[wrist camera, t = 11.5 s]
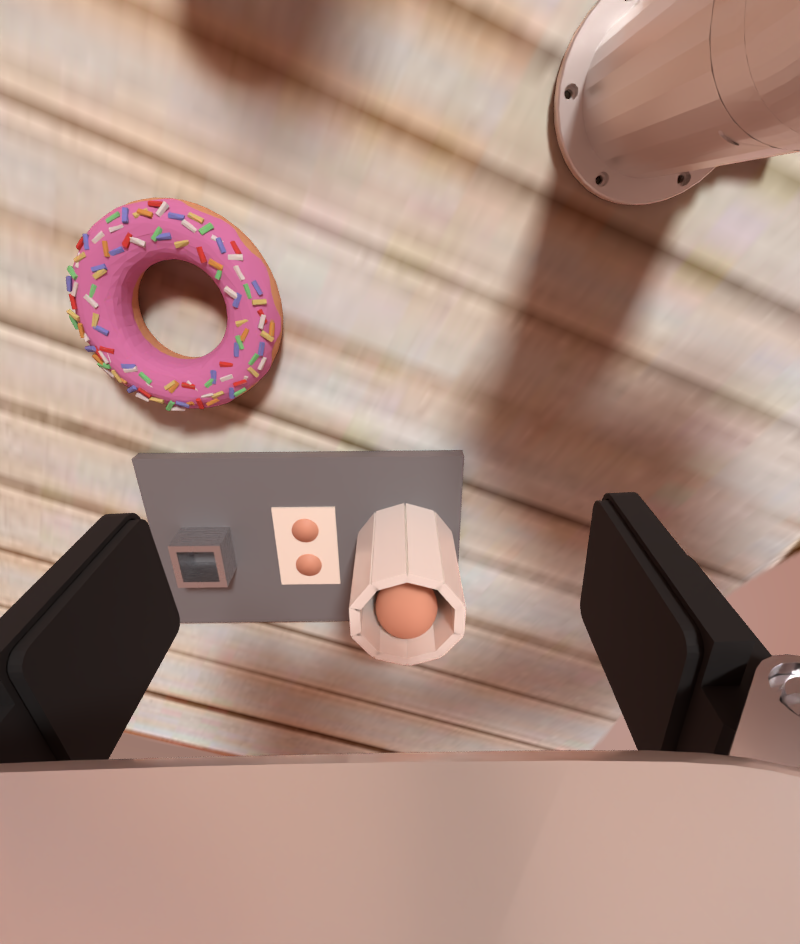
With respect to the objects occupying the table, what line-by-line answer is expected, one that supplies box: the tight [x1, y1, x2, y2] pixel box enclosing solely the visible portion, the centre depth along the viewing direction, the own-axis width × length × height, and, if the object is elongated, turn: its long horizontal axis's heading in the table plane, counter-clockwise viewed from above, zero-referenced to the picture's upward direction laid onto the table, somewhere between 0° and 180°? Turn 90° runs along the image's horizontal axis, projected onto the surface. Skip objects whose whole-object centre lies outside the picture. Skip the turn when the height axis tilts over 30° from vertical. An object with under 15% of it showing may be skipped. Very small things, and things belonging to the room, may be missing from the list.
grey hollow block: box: [168, 527, 237, 588], centre depth 45 cm, size 4×4×3 cm
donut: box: [66, 198, 283, 411], centre depth 36 cm, size 14×14×5 cm
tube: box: [349, 503, 466, 666], centre depth 42 cm, size 9×9×10 cm
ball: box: [376, 582, 438, 639], centre depth 41 cm, size 5×5×5 cm
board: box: [132, 450, 464, 623], centre depth 47 cm, size 28×18×2 cm, turn 90°
